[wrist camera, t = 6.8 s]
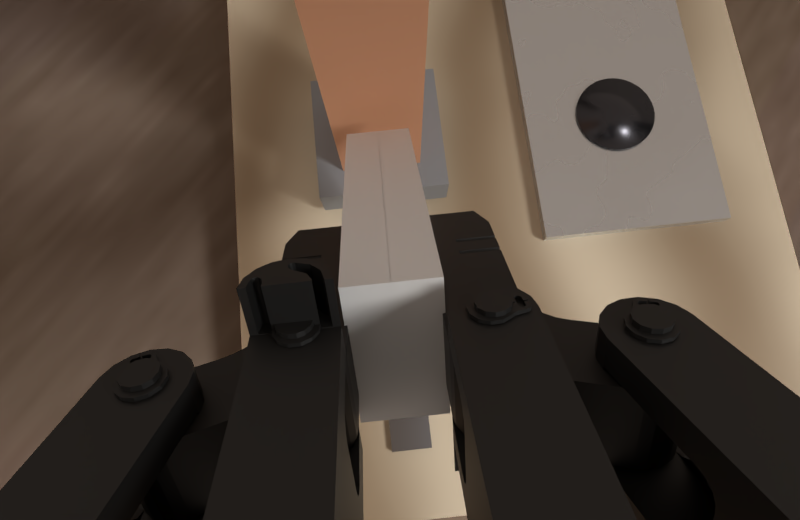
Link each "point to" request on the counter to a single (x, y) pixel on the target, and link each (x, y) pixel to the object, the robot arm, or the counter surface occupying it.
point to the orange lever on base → (371, 85)
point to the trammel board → (516, 210)
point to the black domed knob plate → (612, 117)
